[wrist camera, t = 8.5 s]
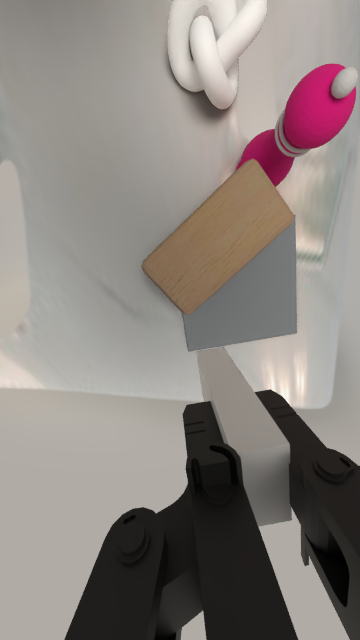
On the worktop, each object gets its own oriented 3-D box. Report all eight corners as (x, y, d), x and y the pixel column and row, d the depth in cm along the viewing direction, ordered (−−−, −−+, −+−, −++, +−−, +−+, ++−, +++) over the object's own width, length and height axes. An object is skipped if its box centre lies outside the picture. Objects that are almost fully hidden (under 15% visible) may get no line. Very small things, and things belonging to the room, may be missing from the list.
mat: (170, 234, 38) (170, 234, 38) (293, 215, 39) (295, 214, 38) (188, 350, 44) (188, 351, 43) (295, 332, 44) (296, 333, 44)
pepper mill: (227, 159, 36) (299, 36, 16) (268, 142, 36) (391, -3, 16) (239, 205, 38) (318, 142, 18) (279, 189, 37) (401, 108, 18)
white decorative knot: (218, -4, 31) (239, -110, 22) (264, 80, 33) (299, 17, 25) (157, 57, 32) (154, -20, 23) (206, 134, 35) (220, 91, 26)
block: (182, 306, 41) (266, 229, 38) (187, 319, 31) (300, 218, 29) (144, 265, 39) (231, 181, 36) (137, 266, 29) (255, 151, 26)
